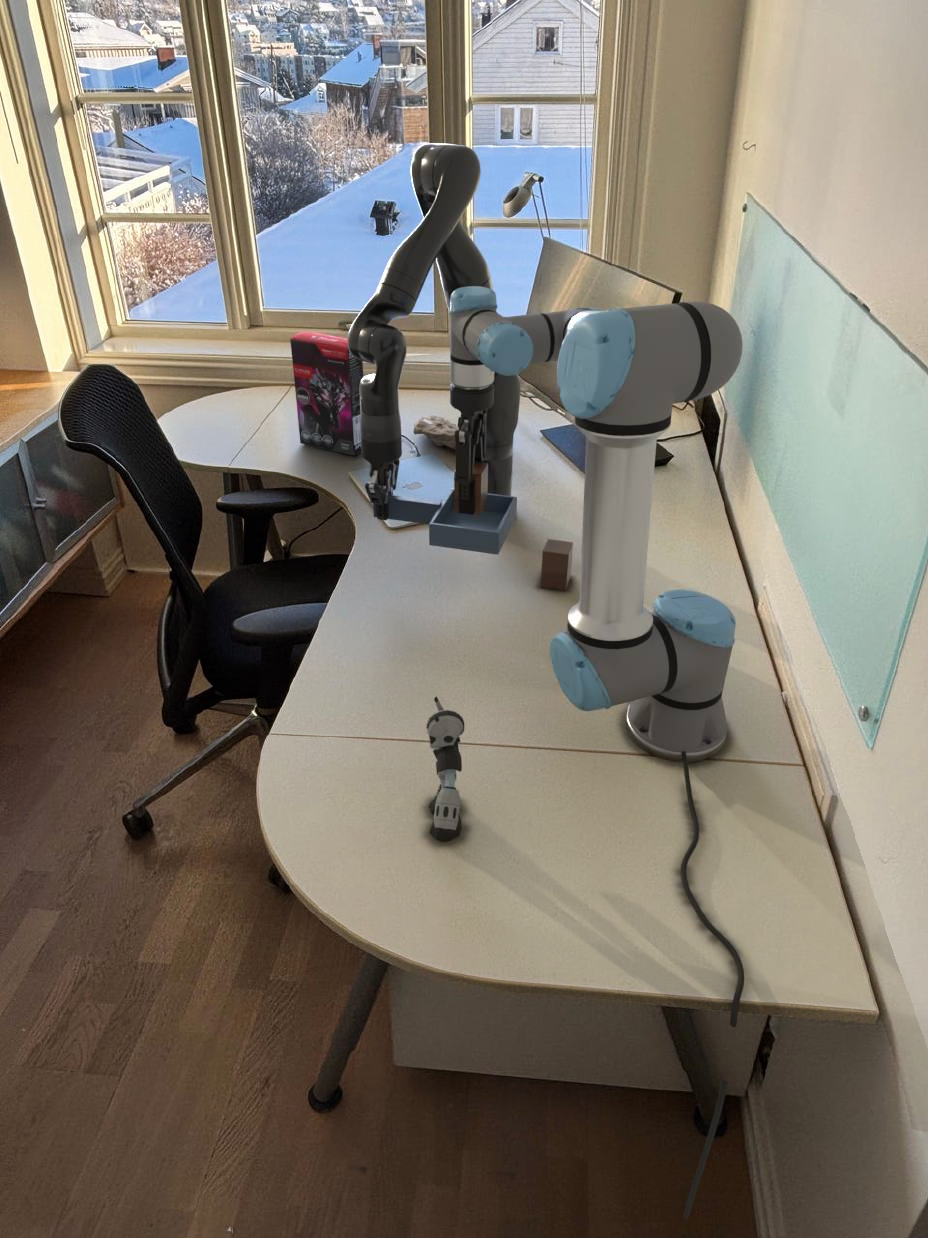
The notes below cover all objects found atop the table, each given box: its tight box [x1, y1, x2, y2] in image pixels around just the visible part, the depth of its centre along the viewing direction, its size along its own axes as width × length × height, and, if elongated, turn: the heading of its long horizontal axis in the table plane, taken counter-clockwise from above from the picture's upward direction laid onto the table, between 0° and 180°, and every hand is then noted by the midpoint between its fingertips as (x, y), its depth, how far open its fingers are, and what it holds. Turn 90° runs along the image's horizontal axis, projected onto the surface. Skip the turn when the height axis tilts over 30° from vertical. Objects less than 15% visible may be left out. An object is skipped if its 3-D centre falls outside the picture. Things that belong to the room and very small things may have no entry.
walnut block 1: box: [453, 462, 488, 515], centre depth 167 cm, size 5×5×8 cm
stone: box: [412, 415, 459, 450], centre depth 232 cm, size 21×15×6 cm
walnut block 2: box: [539, 538, 574, 592], centre depth 177 cm, size 5×5×8 cm
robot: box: [425, 696, 465, 842], centre depth 121 cm, size 20×5×20 cm, turn 3°
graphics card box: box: [289, 330, 365, 456], centre depth 225 cm, size 17×7×27 cm, turn 62°
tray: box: [372, 488, 518, 556], centre depth 176 cm, size 15×27×5 cm, turn 75°
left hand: (384, 516), depth 179 cm, fingers closed on tray, 1 cm apart
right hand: (470, 505), depth 169 cm, fingers closed on walnut block 1, 5 cm apart
